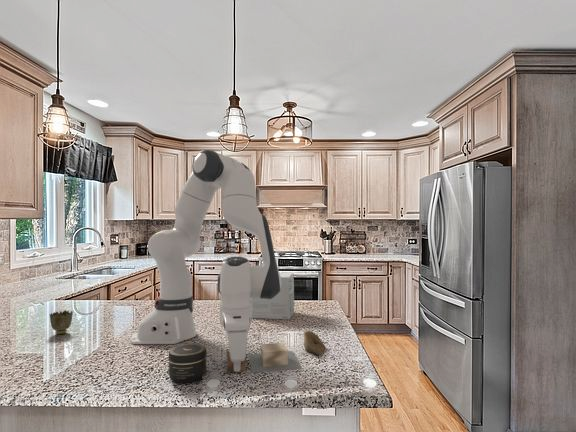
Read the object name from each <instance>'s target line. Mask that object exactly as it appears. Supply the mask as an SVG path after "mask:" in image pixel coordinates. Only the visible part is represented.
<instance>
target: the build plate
mask: <svg viewBox="0 0 576 432" xmlns="http://www.w3.org/2000/svg"><path fill="white" fill-rule="evenodd" d="M247 356H248V360H249V361H248V362H249V364H250V369H251V373H252V374H255V373H268V372H280V371H291V370H303V366H302V364H301V363H300V361H299V359H298V358H297V356H296V354H295V352H294V351H293V350H291V351H288V365H278V366H266V367H263V364H262V360H261V353H249V354H247Z"/></svg>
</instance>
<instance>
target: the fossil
mask: <svg viewBox="0 0 576 432" xmlns="http://www.w3.org/2000/svg"><path fill="white" fill-rule="evenodd" d="M303 338H304V345H303V346H304V350H305V351H306V352H307V353H311V354H315V355H317V356H320V357H323V356H324V353H325V351H326V346H325V344H324V342H323V341H322V339H321V338H320V337H319V335H317V334H316V333H315V332H313V331H311V330H306V331H304V333H303Z"/></svg>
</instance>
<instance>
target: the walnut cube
mask: <svg viewBox="0 0 576 432" xmlns="http://www.w3.org/2000/svg"><path fill="white" fill-rule="evenodd" d="M226 369H227V373H229V374H230V373H236V372H235V371H234V363H233V362H232V361H231V358H230V351H226ZM246 371H247V356H246V357H245V360H244V361H241V365H240V371H238V372H237V373H240V372H246Z"/></svg>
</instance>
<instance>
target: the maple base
mask: <svg viewBox="0 0 576 432" xmlns="http://www.w3.org/2000/svg"><path fill="white" fill-rule="evenodd" d="M260 354H261V360H262V364H263V367H266V366H278V365H288V348H287V346H286V344H285V342H277V343H276V342H273V343H261V344H260Z"/></svg>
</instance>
